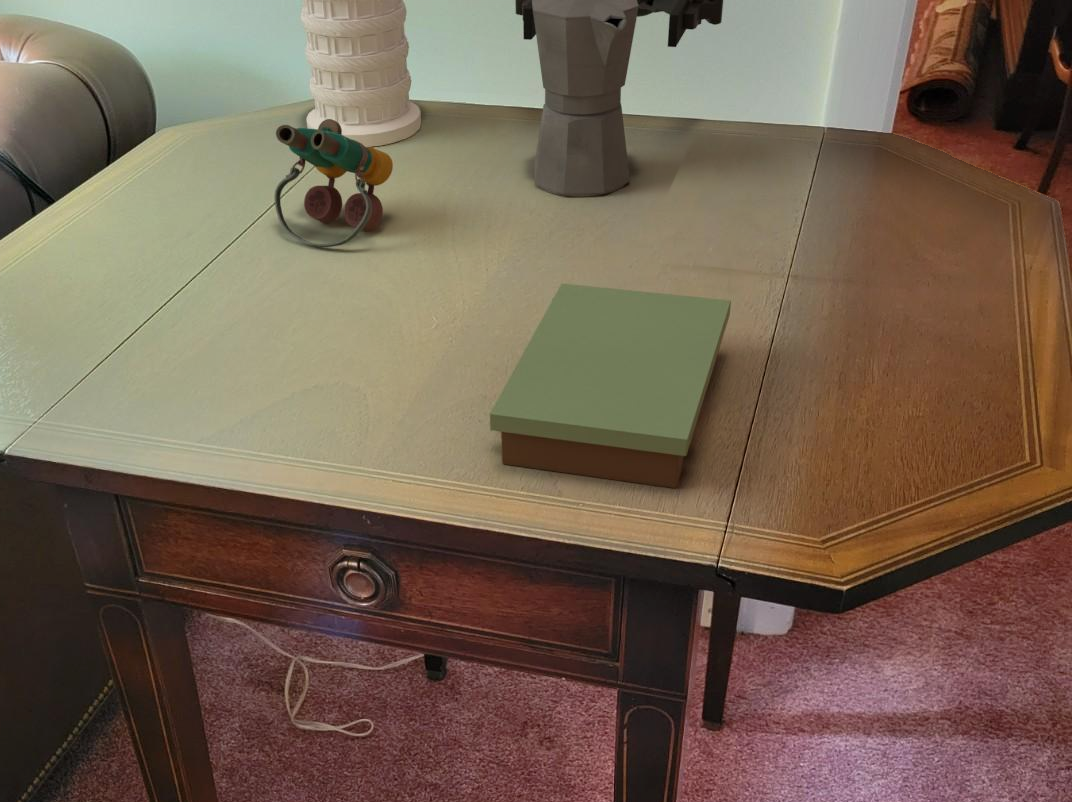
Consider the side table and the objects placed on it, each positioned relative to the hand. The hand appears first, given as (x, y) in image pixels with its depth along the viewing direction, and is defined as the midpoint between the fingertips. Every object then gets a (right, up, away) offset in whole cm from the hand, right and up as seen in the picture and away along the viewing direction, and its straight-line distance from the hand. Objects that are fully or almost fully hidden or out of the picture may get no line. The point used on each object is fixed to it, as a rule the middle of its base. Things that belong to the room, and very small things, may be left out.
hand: (598, 27), depth 111 cm
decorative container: (-23, -4, +13) cm, 26 cm away
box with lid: (-2, -40, -30) cm, 50 cm away
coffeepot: (-2, -13, +1) cm, 14 cm away
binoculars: (-23, -21, -6) cm, 31 cm away
